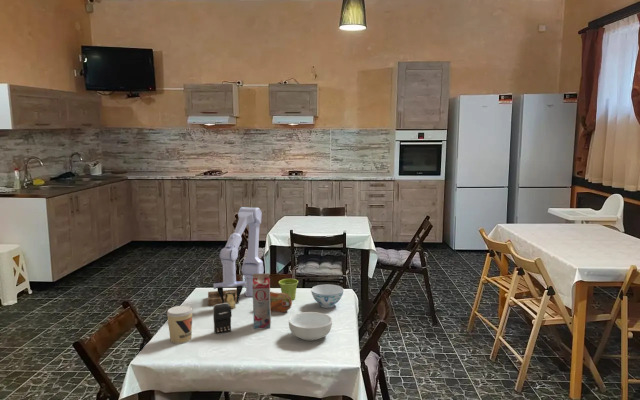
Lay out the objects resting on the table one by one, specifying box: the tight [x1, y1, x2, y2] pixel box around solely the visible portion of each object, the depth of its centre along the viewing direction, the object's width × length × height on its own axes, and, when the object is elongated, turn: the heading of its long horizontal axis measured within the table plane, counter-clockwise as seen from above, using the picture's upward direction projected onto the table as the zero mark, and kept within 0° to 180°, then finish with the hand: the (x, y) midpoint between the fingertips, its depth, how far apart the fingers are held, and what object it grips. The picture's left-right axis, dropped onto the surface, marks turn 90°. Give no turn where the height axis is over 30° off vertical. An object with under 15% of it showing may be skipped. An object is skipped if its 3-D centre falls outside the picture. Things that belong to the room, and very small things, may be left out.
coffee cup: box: [166, 305, 193, 345], centre depth 176 cm, size 9×9×12 cm
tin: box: [270, 291, 293, 313], centre depth 207 cm, size 15×3×8 cm, turn 68°
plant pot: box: [278, 278, 299, 301], centre depth 222 cm, size 9×9×9 cm
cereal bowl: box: [288, 311, 333, 342], centre depth 178 cm, size 17×17×7 cm
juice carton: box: [252, 273, 272, 330], centre depth 189 cm, size 7×7×22 cm
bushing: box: [225, 291, 236, 310], centre depth 211 cm, size 4×4×7 cm
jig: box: [207, 289, 240, 307], centre depth 221 cm, size 14×12×3 cm
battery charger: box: [212, 303, 233, 335], centre depth 183 cm, size 7×4×11 cm, turn 114°
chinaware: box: [310, 283, 345, 309], centre depth 213 cm, size 15×15×8 cm
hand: (230, 302), depth 211 cm, fingers open, 6 cm apart
